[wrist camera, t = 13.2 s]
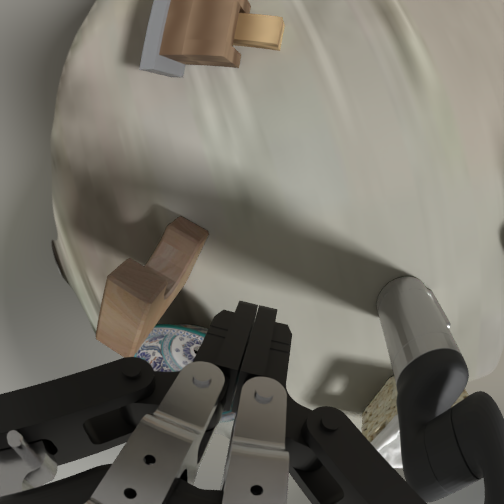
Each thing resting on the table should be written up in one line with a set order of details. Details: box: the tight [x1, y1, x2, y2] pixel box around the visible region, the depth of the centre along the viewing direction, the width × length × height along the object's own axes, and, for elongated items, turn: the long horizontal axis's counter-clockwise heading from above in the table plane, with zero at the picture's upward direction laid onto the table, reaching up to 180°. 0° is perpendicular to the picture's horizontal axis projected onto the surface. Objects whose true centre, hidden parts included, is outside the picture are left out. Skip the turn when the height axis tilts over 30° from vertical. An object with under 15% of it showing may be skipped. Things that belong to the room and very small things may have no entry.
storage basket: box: [362, 376, 469, 468], centre depth 47 cm, size 24×16×15 cm
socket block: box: [159, 0, 251, 68], centre depth 30 cm, size 8×10×8 cm
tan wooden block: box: [233, 13, 285, 51], centre depth 31 cm, size 10×4×4 cm, turn 80°
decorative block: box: [96, 216, 209, 358], centre depth 39 cm, size 11×6×20 cm, turn 151°
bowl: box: [124, 324, 236, 422], centre depth 52 cm, size 25×25×10 cm
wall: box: [139, 0, 185, 77], centre depth 30 cm, size 2×14×9 cm, turn 171°
